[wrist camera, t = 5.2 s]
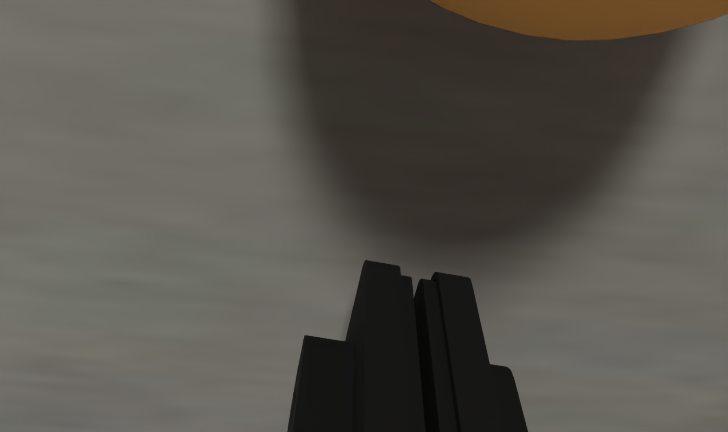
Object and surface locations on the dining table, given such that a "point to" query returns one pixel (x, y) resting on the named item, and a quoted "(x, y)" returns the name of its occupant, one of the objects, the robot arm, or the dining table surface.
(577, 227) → the dining table surface
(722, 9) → the ball
